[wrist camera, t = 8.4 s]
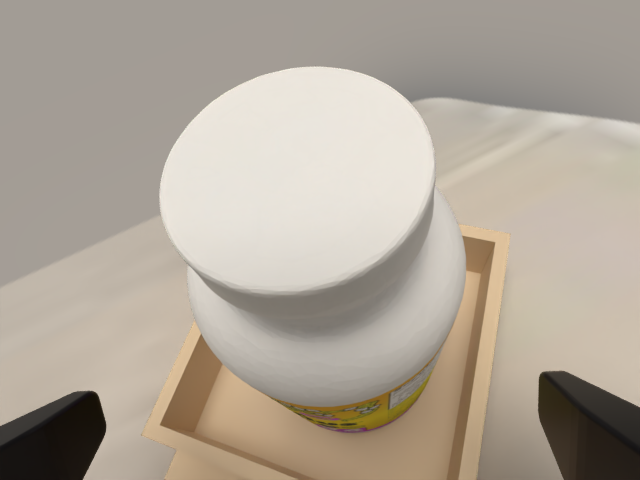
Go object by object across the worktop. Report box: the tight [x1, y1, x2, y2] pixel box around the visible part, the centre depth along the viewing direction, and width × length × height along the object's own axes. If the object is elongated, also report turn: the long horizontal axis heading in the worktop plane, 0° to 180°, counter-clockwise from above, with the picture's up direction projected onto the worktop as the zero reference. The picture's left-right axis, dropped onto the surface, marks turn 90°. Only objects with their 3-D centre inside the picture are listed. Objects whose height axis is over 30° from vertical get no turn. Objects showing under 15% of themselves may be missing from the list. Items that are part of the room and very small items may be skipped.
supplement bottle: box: [159, 67, 466, 433], centre depth 12 cm, size 7×7×13 cm
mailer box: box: [141, 224, 511, 480], centre depth 16 cm, size 18×11×4 cm, turn 162°
